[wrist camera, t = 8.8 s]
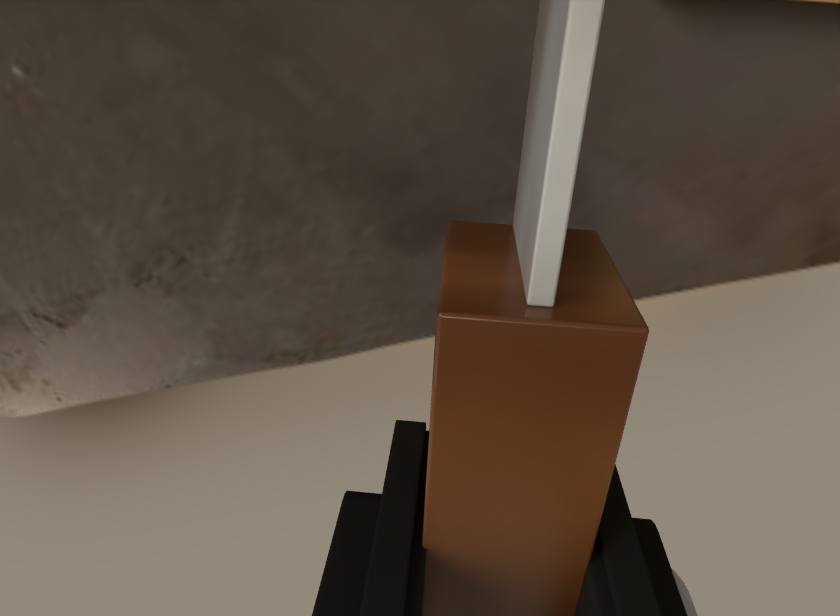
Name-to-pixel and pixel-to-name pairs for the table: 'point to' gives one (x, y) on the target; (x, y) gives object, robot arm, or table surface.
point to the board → (817, 1)
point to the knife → (529, 367)
